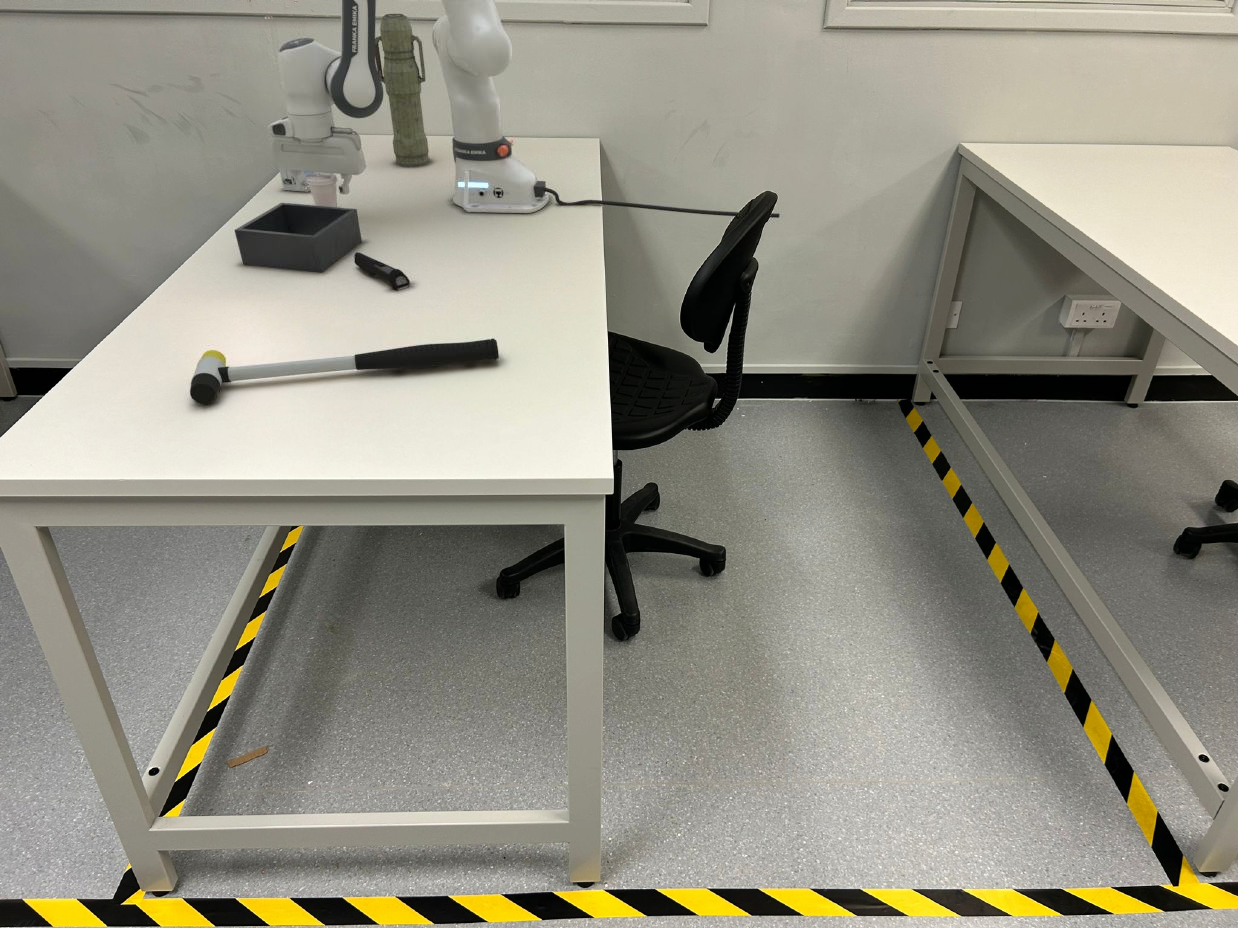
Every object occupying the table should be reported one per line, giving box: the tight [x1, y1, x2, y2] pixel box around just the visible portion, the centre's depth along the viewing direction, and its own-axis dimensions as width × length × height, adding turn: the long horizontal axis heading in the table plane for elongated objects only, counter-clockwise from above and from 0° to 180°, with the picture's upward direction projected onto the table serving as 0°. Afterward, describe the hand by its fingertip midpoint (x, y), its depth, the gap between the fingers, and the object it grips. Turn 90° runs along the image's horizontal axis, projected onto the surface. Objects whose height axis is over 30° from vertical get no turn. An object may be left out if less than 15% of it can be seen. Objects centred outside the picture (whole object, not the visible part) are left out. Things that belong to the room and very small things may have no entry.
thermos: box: [375, 13, 430, 168], centre depth 218 cm, size 9×12×35 cm
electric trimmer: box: [353, 251, 411, 291], centre depth 163 cm, size 4×16×3 cm, turn 45°
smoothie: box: [306, 172, 338, 207], centre depth 186 cm, size 6×6×14 cm
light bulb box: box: [278, 169, 322, 193], centre depth 208 cm, size 11×7×11 cm, turn 168°
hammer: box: [189, 338, 500, 405], centre depth 132 cm, size 45×11×4 cm, turn 103°
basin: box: [234, 202, 363, 274], centre depth 172 cm, size 17×17×7 cm
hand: (324, 192), depth 186 cm, fingers open, 8 cm apart
